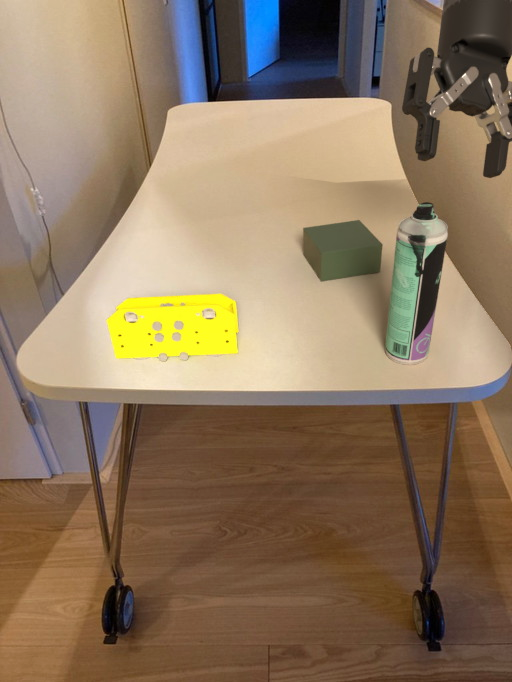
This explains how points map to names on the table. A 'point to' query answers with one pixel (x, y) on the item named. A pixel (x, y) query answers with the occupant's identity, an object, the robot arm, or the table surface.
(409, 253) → the spray can
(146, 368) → the table surface
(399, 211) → the table surface
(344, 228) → the sage block
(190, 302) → the yellow toy chassis
